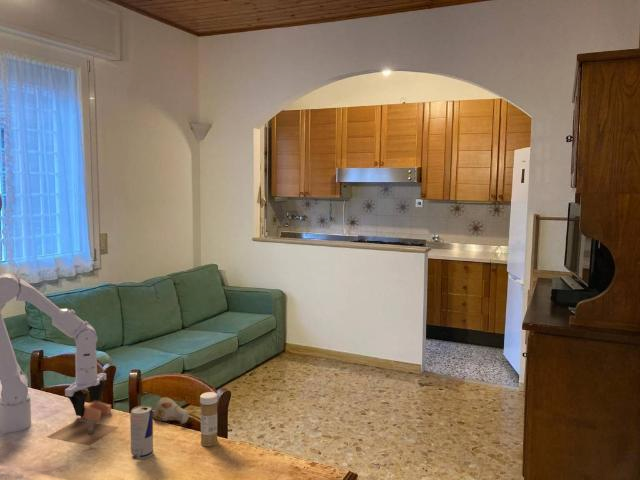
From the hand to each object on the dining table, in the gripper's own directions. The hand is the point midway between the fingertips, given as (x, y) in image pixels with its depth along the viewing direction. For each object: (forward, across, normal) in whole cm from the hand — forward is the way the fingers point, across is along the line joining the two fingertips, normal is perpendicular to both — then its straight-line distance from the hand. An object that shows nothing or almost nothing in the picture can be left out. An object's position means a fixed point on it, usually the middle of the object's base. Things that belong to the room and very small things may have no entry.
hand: (87, 411), depth 150 cm
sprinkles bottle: (+2, -2, -42) cm, 42 cm away
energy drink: (+2, -13, -28) cm, 31 cm away
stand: (+2, -10, -8) cm, 13 cm away
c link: (+1, 0, -3) cm, 3 cm away
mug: (+2, +7, -25) cm, 26 cm away
